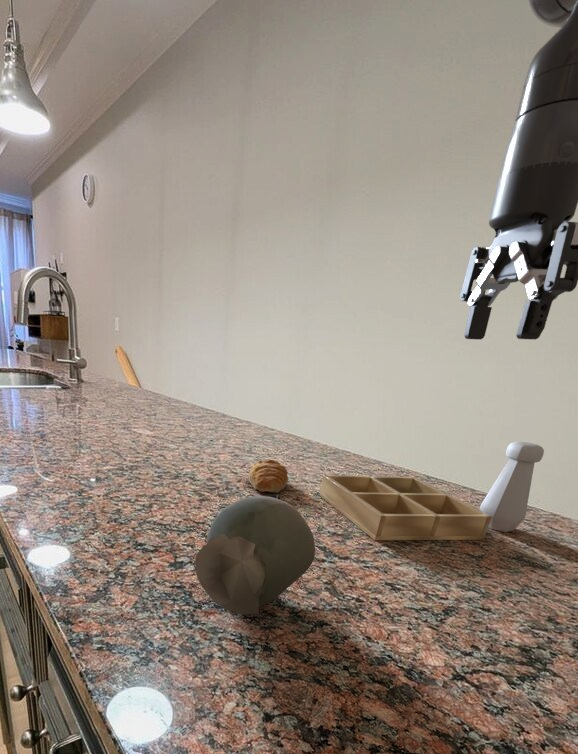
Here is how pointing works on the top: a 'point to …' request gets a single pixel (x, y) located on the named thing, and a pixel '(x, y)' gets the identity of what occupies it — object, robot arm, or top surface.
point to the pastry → (268, 476)
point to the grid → (403, 508)
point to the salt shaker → (512, 487)
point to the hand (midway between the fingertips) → (498, 339)
